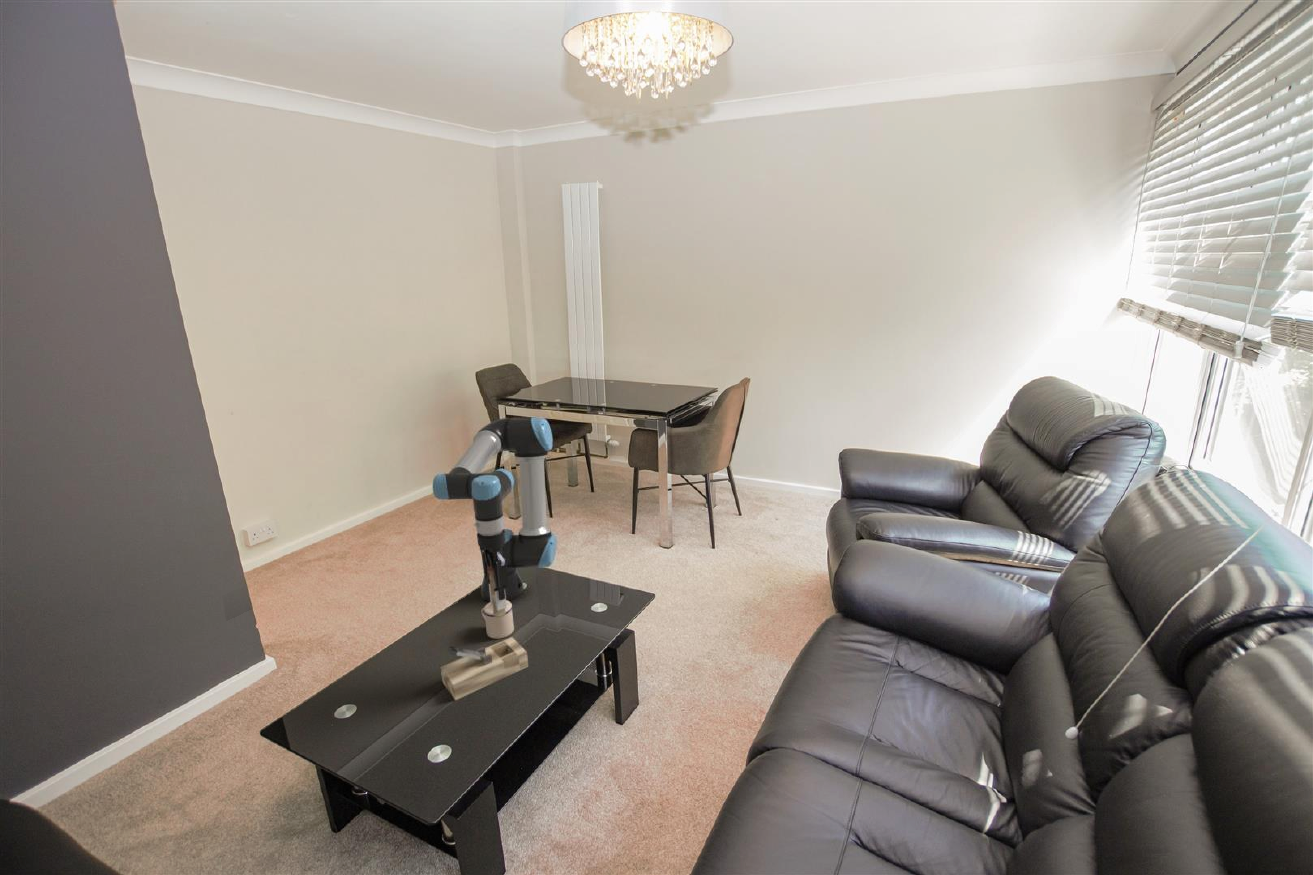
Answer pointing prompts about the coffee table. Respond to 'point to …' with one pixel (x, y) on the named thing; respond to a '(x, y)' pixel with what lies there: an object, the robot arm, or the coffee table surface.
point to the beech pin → (493, 586)
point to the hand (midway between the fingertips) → (498, 605)
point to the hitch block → (484, 668)
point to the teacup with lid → (498, 621)
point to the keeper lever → (465, 653)
